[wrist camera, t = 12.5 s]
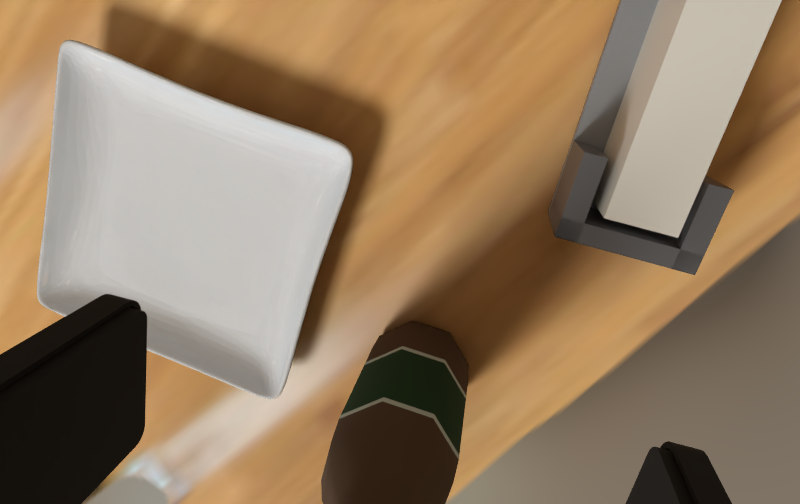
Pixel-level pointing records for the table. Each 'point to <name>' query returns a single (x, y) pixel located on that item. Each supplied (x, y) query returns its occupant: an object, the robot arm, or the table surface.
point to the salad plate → (186, 216)
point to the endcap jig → (587, 162)
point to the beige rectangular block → (678, 108)
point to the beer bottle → (400, 422)
